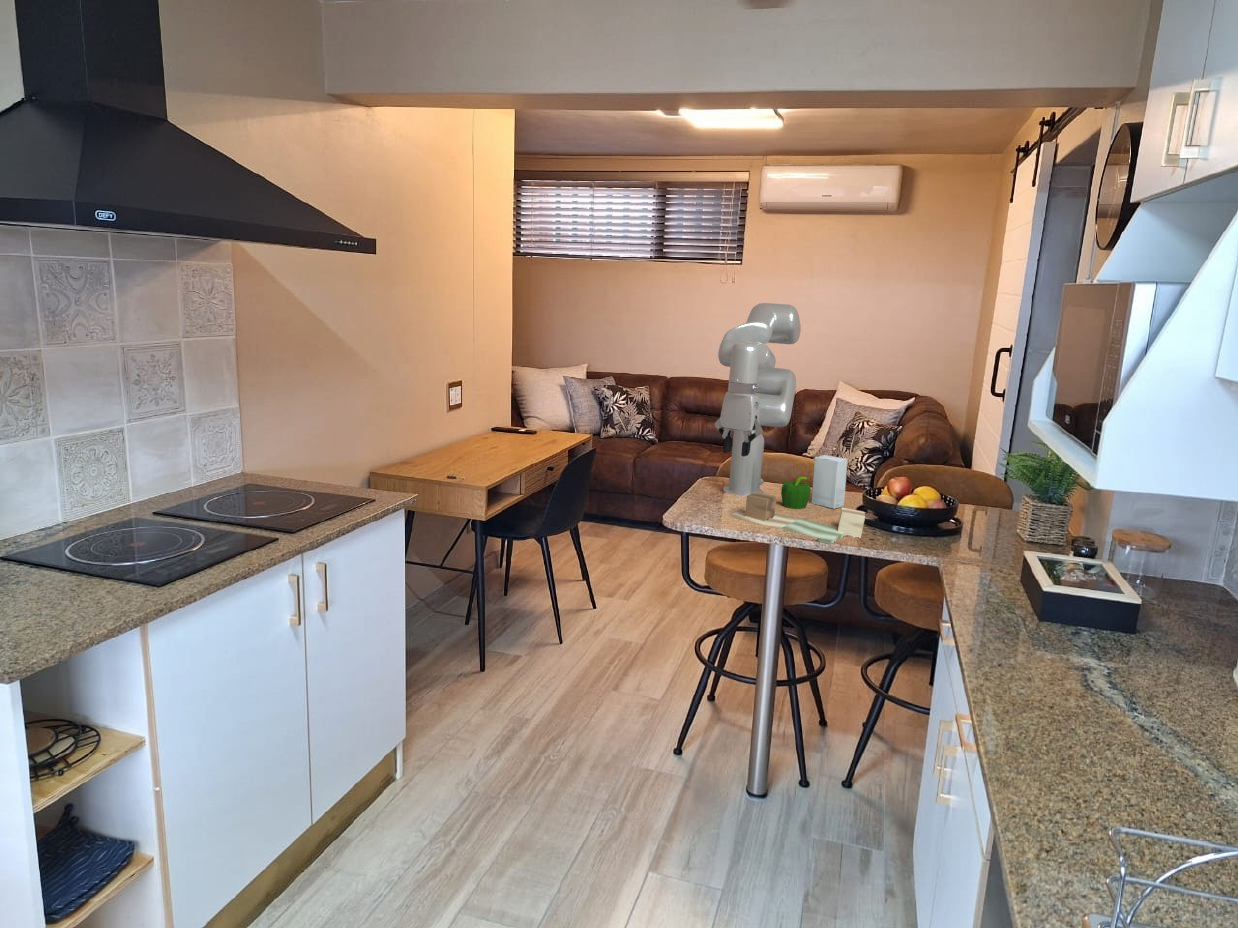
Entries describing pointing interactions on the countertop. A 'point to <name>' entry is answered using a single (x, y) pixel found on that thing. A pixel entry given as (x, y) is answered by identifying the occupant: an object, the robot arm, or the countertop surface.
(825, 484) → the skincare box
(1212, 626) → the countertop surface
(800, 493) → the bell pepper
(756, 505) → the walnut block
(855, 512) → the beech block
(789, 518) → the board
